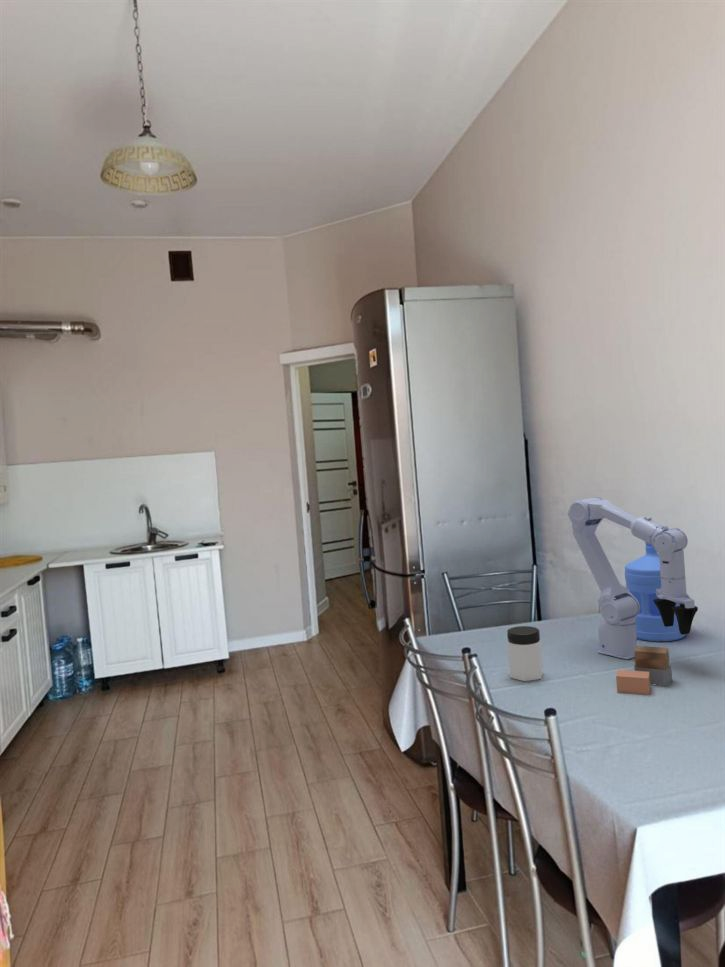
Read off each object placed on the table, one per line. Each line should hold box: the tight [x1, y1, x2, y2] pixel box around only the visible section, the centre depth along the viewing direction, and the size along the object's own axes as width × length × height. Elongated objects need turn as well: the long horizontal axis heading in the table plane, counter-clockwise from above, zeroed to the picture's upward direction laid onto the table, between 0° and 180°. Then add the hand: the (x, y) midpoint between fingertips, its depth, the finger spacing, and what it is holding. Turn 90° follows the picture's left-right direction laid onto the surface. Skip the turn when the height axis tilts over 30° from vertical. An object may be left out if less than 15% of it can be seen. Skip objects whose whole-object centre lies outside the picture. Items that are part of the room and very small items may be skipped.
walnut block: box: [634, 645, 670, 670], centre depth 160 cm, size 7×4×4 cm, turn 59°
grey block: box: [633, 664, 673, 687], centre depth 160 cm, size 7×4×4 cm, turn 41°
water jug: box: [624, 541, 687, 642], centre depth 195 cm, size 16×16×28 cm
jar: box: [506, 625, 544, 682], centre depth 171 cm, size 9×8×12 cm
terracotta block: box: [615, 669, 651, 695], centre depth 156 cm, size 7×4×4 cm, turn 63°
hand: (676, 629), depth 168 cm, fingers open, 7 cm apart
